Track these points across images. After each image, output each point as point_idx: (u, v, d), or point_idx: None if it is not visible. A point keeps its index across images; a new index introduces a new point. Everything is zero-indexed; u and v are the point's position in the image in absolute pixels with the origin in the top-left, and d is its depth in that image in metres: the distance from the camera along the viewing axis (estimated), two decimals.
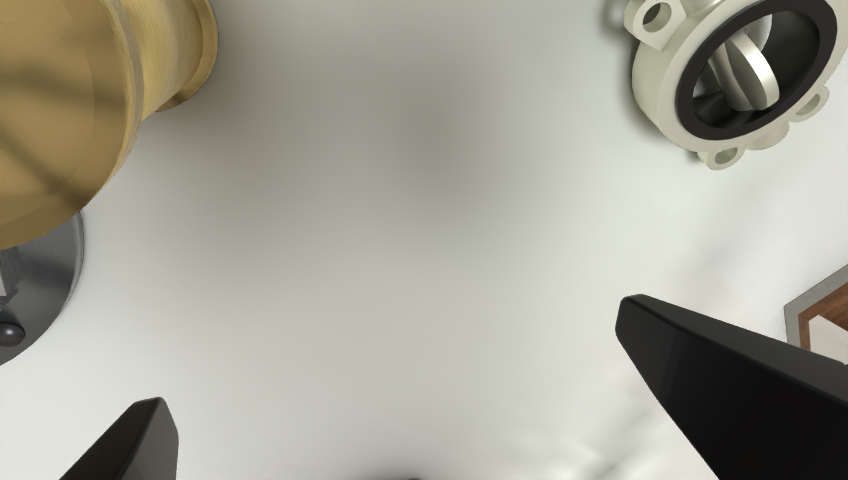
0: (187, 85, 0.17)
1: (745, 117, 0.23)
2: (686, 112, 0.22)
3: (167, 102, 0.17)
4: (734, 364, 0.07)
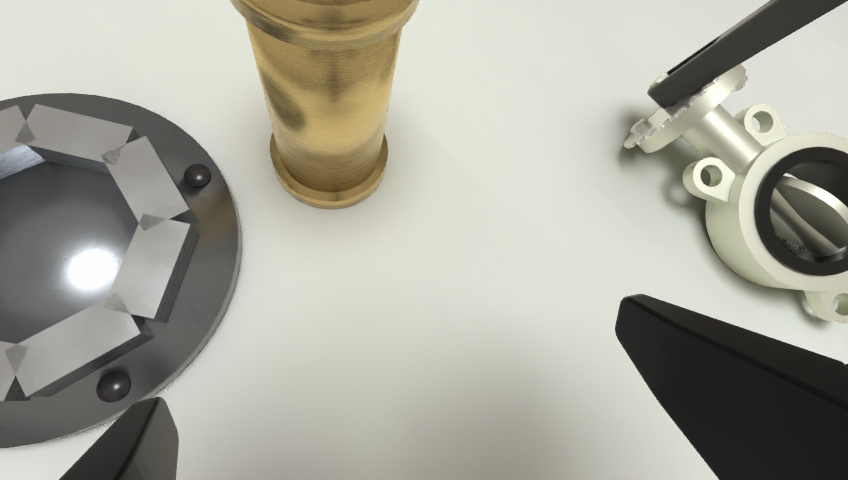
0: (360, 185, 0.23)
1: (838, 256, 0.25)
2: (776, 245, 0.24)
3: (342, 194, 0.23)
4: (734, 364, 0.07)
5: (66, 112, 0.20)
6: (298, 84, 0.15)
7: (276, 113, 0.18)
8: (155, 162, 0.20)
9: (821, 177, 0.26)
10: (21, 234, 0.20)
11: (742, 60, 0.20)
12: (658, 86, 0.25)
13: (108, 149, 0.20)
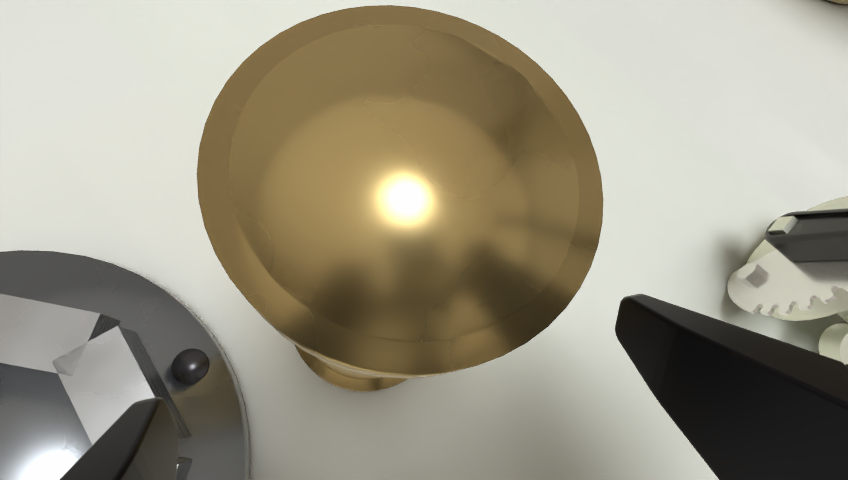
0: None
1: None
2: None
3: (386, 381, 0.17)
4: (734, 364, 0.07)
5: (6, 296, 0.14)
6: None
7: None
8: (130, 367, 0.14)
9: None
10: None
11: None
12: (789, 239, 0.19)
13: (63, 351, 0.14)
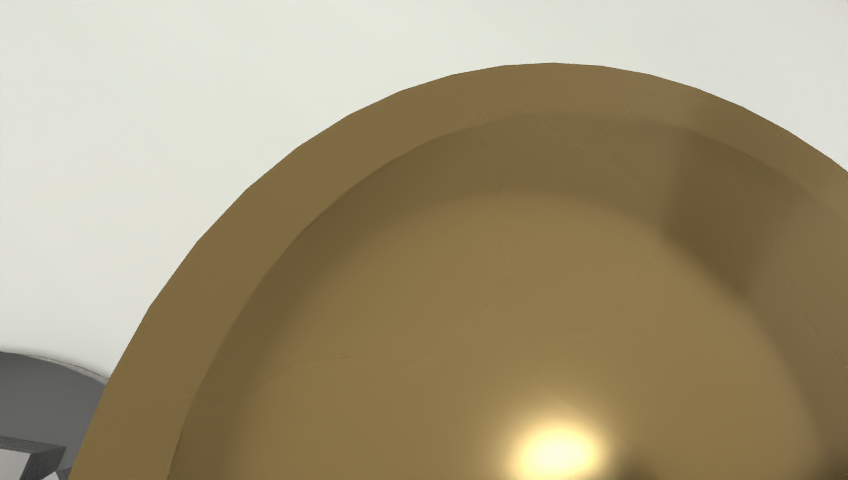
0: None
1: None
2: None
3: None
4: None
5: None
6: None
7: None
8: None
9: None
10: None
11: None
12: None
13: None
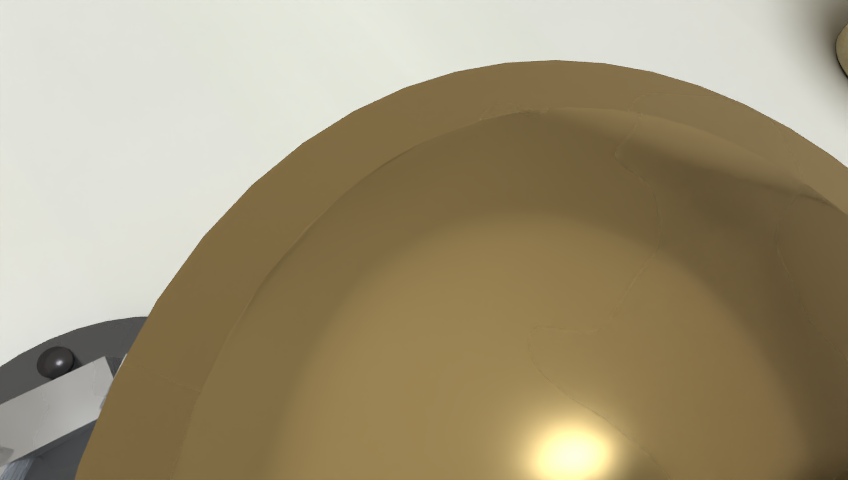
0: None
1: None
2: None
3: None
4: None
5: None
6: None
7: None
8: None
9: None
10: None
11: None
12: None
13: None
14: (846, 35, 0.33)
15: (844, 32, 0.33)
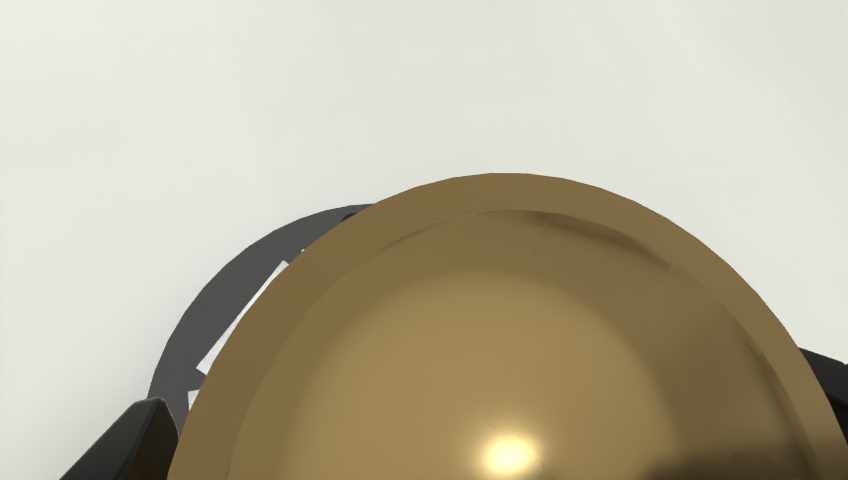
0: None
1: None
2: None
3: None
4: None
5: None
6: None
7: None
8: None
9: None
10: None
11: None
12: None
13: None
14: None
15: None
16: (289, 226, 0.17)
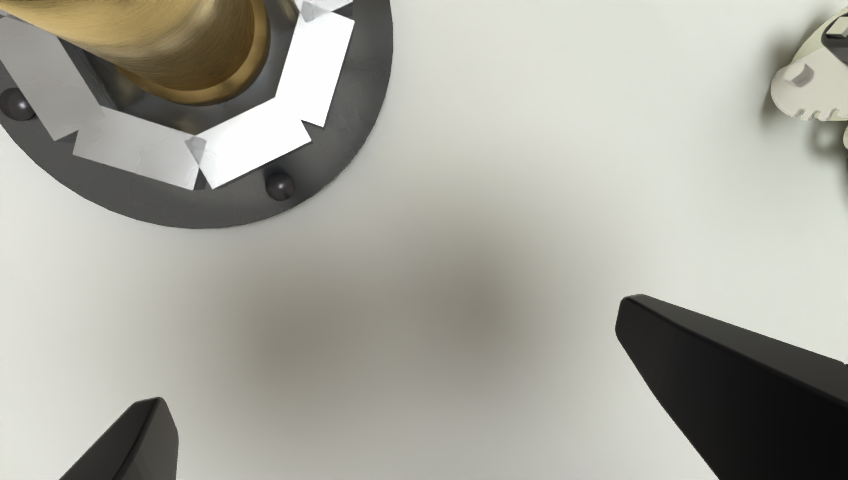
0: (242, 66, 0.17)
1: None
2: None
3: (225, 86, 0.17)
4: (734, 364, 0.07)
5: None
6: (35, 13, 0.09)
7: None
8: None
9: None
10: None
11: None
12: (845, 46, 0.19)
13: None
14: None
15: None
16: None
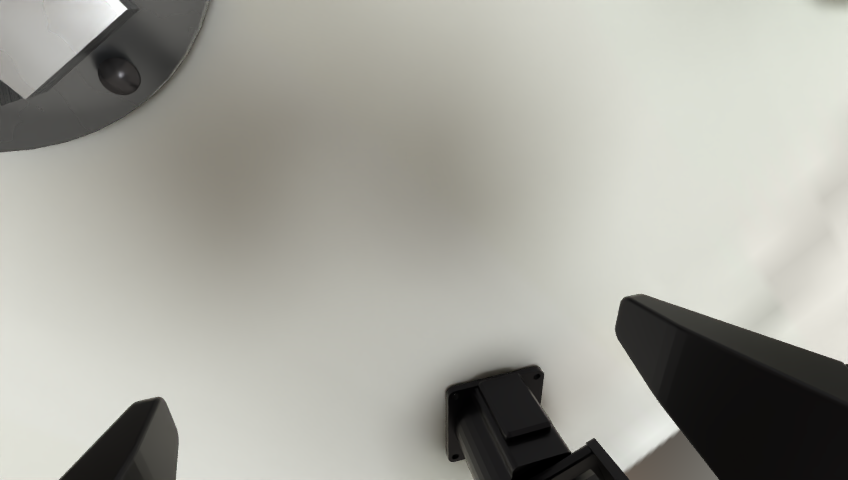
0: None
1: None
2: None
3: None
4: (734, 364, 0.07)
5: None
6: None
7: None
8: None
9: None
10: None
11: None
12: None
13: None
14: None
15: None
16: None
